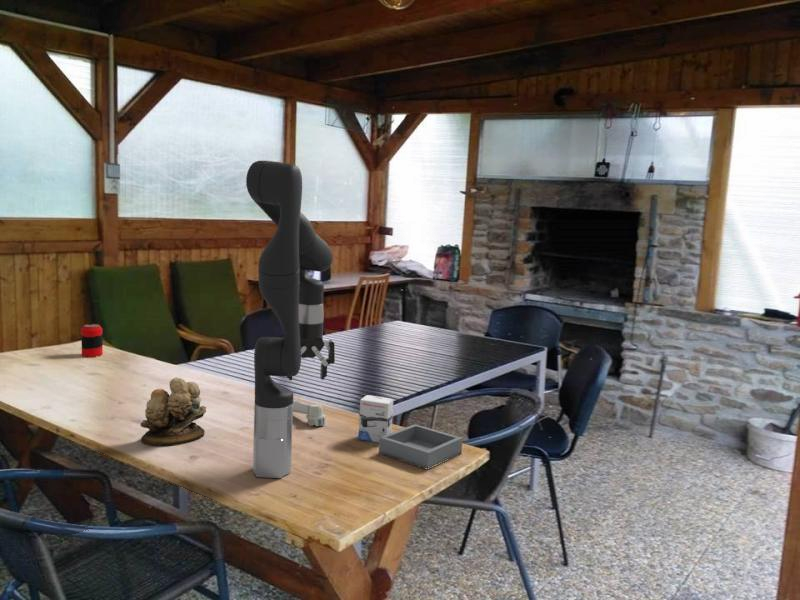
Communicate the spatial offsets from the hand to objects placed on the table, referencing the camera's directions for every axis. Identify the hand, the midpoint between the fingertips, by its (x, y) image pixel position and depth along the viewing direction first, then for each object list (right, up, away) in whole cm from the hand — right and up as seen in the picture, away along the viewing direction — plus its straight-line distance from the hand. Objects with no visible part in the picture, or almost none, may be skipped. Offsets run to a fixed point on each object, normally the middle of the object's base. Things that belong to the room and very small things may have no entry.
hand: (306, 379), depth 186 cm
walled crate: (+30, -21, +3) cm, 37 cm away
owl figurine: (-37, -17, +6) cm, 41 cm away
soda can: (-97, -1, +91) cm, 133 cm away
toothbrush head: (-7, -15, +30) cm, 34 cm away
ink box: (+18, -19, +13) cm, 29 cm away
